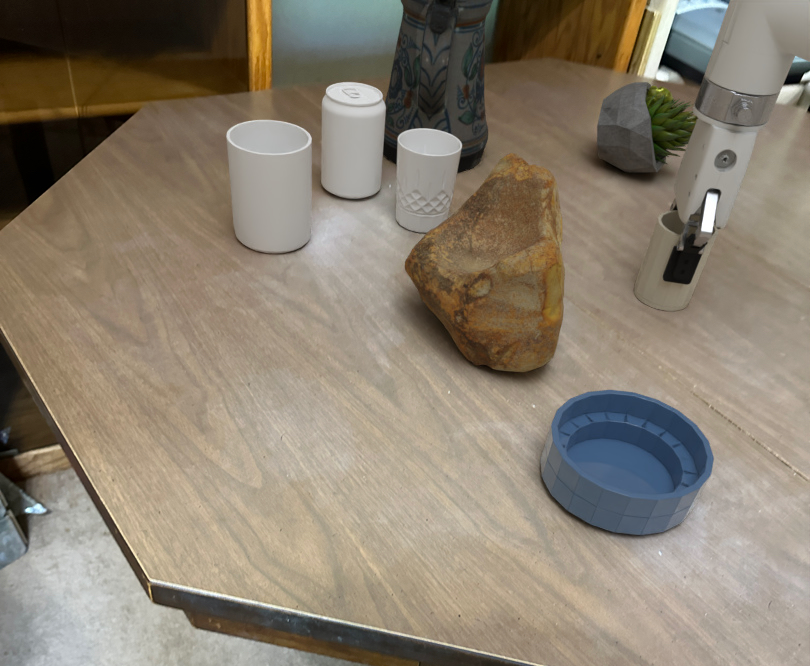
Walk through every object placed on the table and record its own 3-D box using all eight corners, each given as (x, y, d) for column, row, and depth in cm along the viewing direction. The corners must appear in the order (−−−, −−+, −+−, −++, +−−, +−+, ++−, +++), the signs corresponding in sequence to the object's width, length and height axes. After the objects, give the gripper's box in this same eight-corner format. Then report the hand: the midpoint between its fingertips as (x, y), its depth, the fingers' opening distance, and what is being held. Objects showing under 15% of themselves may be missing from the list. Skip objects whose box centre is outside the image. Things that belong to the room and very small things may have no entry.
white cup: (412, 240, 97) (420, 159, 90) (380, 212, 101) (385, 133, 94) (462, 229, 100) (474, 149, 93) (429, 202, 105) (438, 124, 97)
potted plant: (610, 116, 123) (710, 110, 117) (596, 193, 122) (695, 192, 116) (599, 64, 111) (709, 55, 105) (583, 149, 111) (692, 145, 105)
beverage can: (333, 205, 102) (335, 107, 93) (312, 178, 106) (312, 82, 97) (389, 198, 104) (396, 103, 95) (367, 172, 109) (371, 78, 100)
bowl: (677, 438, 76) (696, 398, 72) (706, 547, 67) (729, 507, 63) (535, 423, 76) (546, 382, 72) (544, 530, 66) (558, 489, 62)
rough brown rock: (408, 265, 95) (408, 139, 83) (543, 269, 94) (563, 142, 83) (399, 387, 80) (398, 254, 68) (559, 392, 79) (586, 259, 68)
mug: (226, 250, 92) (217, 148, 83) (247, 204, 100) (241, 107, 91) (305, 260, 92) (304, 159, 83) (320, 213, 100) (320, 117, 91)
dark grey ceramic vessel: (458, 125, 123) (485, -70, 104) (511, 180, 112) (551, -29, 93) (360, 131, 118) (369, -73, 99) (404, 188, 107) (424, -30, 88)
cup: (683, 283, 96) (711, 214, 90) (694, 314, 92) (724, 242, 85) (630, 277, 96) (653, 207, 89) (637, 307, 92) (663, 235, 85)
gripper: (788, 141, 72) (713, 309, 85) (758, 78, 83) (696, 235, 97) (707, 129, 72) (645, 298, 85) (689, 67, 83) (637, 225, 97)
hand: (673, 263), depth 91 cm, fingers closed on cup, 7 cm apart
